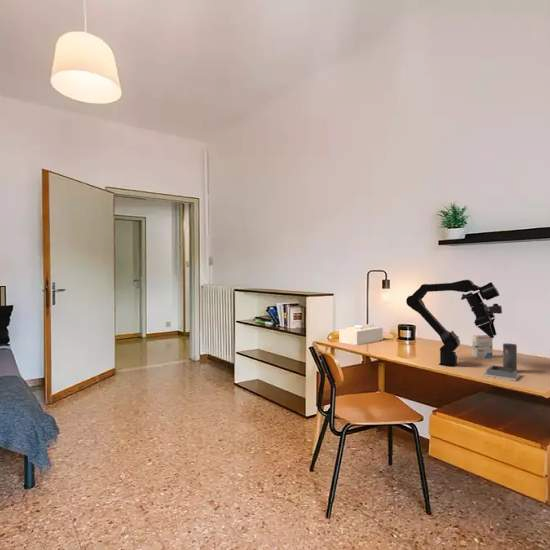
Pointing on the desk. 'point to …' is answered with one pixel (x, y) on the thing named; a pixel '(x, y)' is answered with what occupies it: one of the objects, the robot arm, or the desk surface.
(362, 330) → the tissue box
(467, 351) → the desk surface
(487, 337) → the ink box
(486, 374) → the square tray
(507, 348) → the grey domed cylinder
